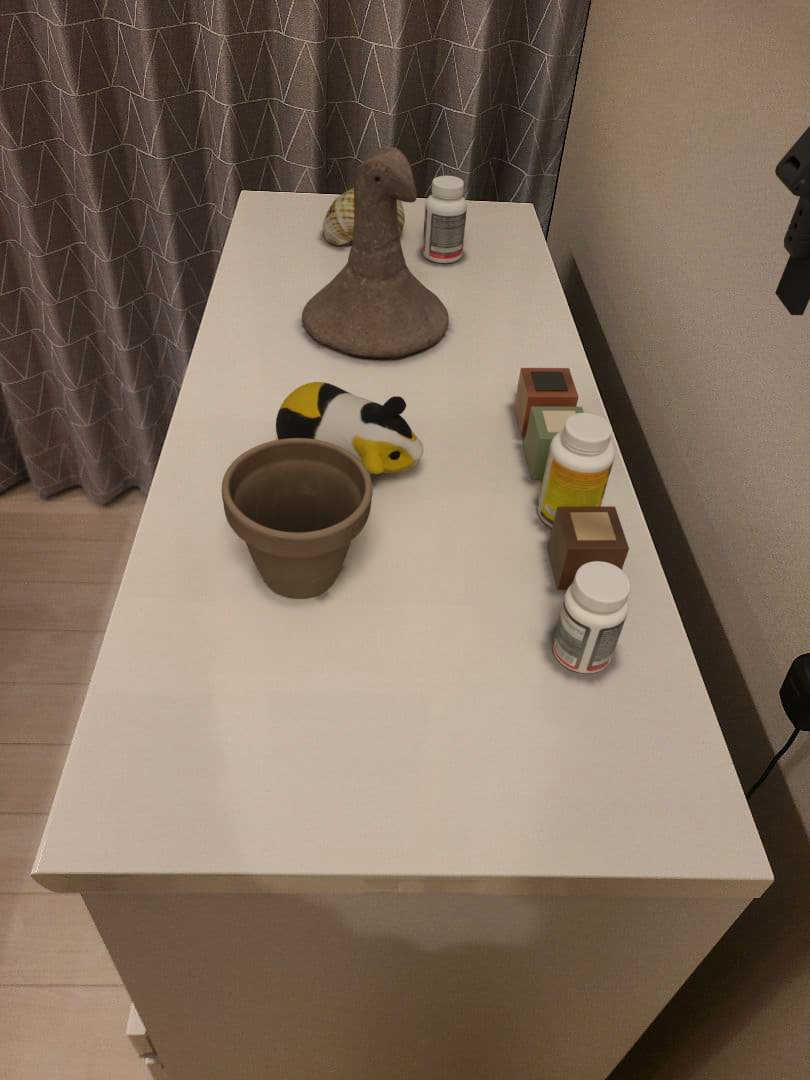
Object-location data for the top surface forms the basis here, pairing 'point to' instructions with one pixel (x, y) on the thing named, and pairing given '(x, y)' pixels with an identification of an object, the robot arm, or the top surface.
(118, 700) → the top surface
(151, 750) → the top surface
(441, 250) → the pill bottle
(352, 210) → the seashell
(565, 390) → the block end
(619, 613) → the pill bottle
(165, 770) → the top surface
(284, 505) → the flower pot
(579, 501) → the supplement bottle
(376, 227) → the sculpture
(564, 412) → the block far
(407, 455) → the figurine
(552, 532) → the block near
